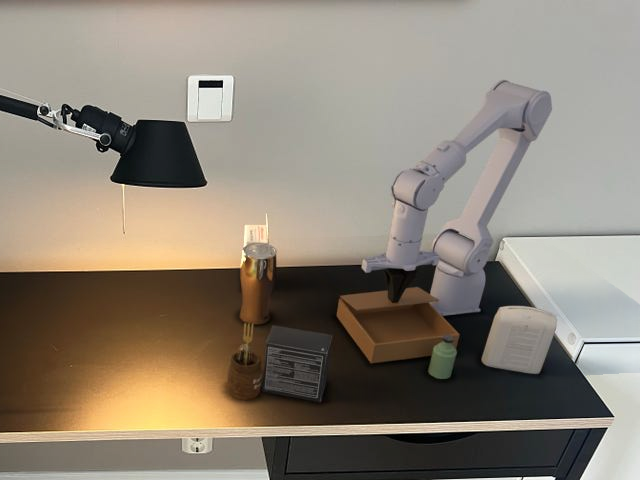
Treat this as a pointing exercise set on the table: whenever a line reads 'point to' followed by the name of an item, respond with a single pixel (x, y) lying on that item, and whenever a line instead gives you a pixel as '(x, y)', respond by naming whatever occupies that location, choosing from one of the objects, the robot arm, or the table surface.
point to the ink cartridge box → (256, 234)
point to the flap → (381, 299)
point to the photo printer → (519, 339)
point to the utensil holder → (245, 371)
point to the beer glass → (257, 281)
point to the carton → (395, 330)
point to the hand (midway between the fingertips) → (393, 300)
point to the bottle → (443, 358)
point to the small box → (296, 363)
